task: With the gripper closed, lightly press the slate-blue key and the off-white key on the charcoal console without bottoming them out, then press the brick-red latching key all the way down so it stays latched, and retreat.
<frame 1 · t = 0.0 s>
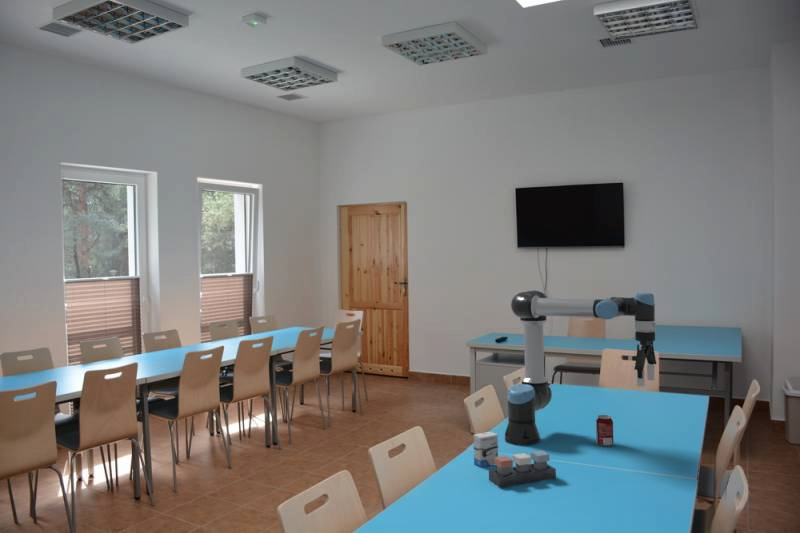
hand: (646, 383, 250), 28 cm above the table, fingers open, 13 cm apart
key slate: (540, 460, 227), point 6 cm above the table, slide at 0.0 cm
key white: (522, 463, 224), point 6 cm above the table, slide at 0.0 cm
soda can: (605, 445, 261), on the table
key brick: (503, 466, 222), point 6 cm above the table, slide at 0.0 cm
console: (522, 479, 224), on the table
ink box: (486, 464, 242), on the table
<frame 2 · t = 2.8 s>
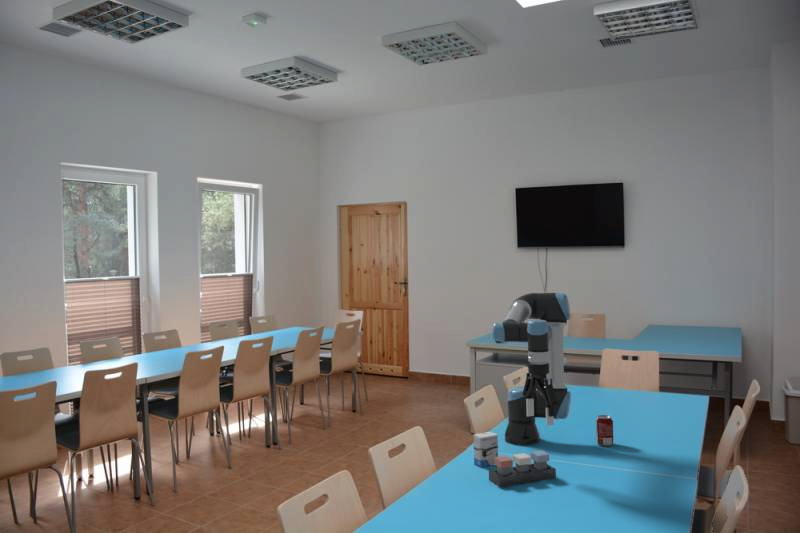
hand: (539, 420, 226), 21 cm above the table, fingers open, 13 cm apart
nothing on the table moved.
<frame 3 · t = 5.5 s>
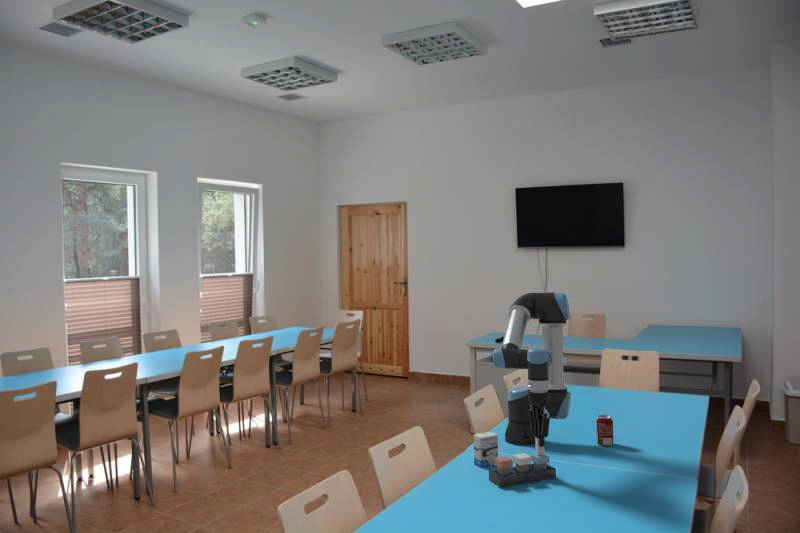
hand: (540, 454, 226), 8 cm above the table, fingers closed
key slate: (540, 462, 227), point 5 cm above the table, slide at 0.7 cm, touching gripper
everything else where it was.
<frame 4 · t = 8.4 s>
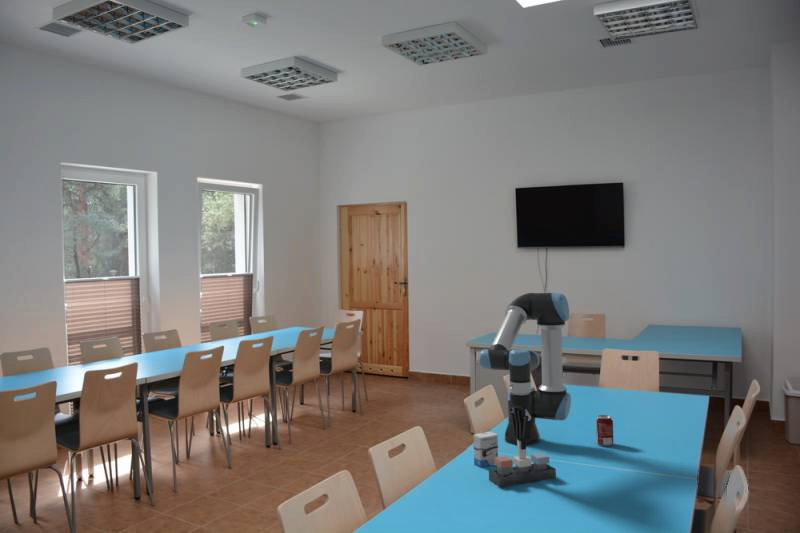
hand: (521, 457, 224), 8 cm above the table, fingers closed
key slate: (540, 462, 227), point 5 cm above the table, slide at 0.8 cm
key white: (522, 465, 224), point 5 cm above the table, slide at 0.8 cm, touching gripper
everything else where it was.
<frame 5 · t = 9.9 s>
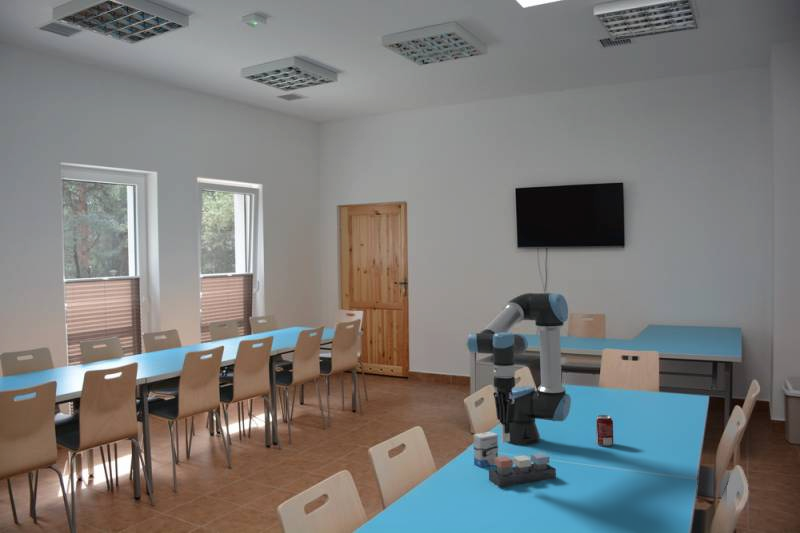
hand: (505, 441, 222), 15 cm above the table, fingers closed
key white: (522, 465, 224), point 5 cm above the table, slide at 0.8 cm
everything else where it was.
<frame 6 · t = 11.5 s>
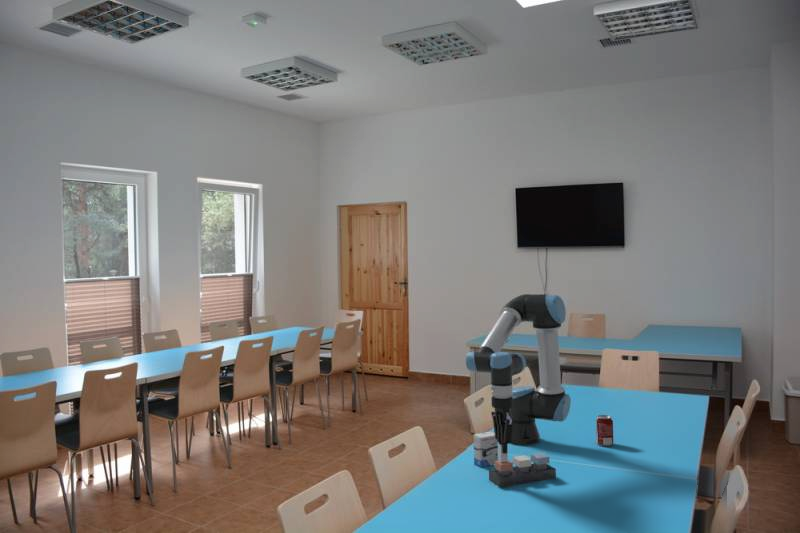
hand: (503, 461, 222), 8 cm above the table, fingers closed
key brick: (503, 469, 222), point 5 cm above the table, slide at 1.2 cm, touching gripper
everything else where it was.
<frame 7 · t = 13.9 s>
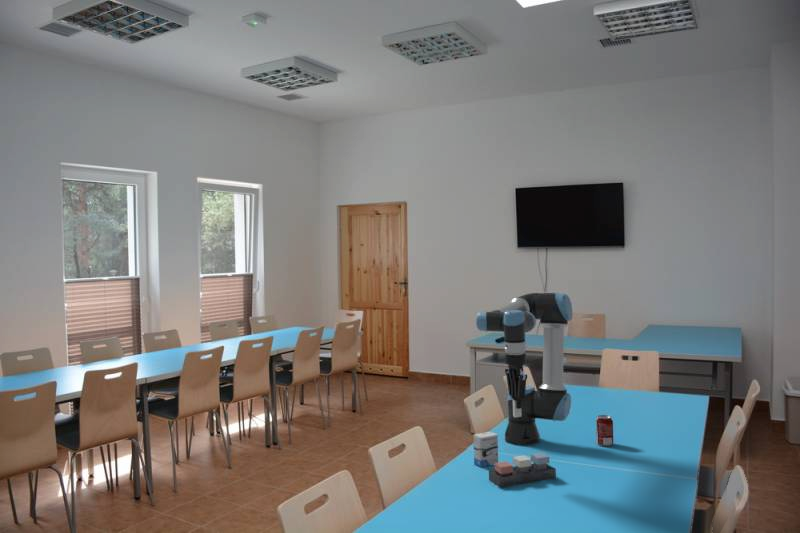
hand: (517, 416, 227), 22 cm above the table, fingers closed
key brick: (503, 471, 222), point 4 cm above the table, slide at 2.1 cm
everything else where it was.
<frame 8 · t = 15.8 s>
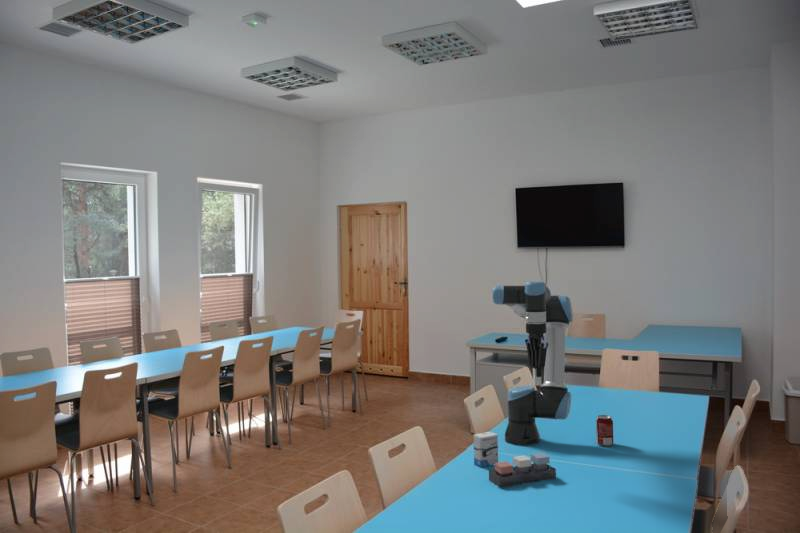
hand: (537, 384, 233), 32 cm above the table, fingers closed
nothing on the table moved.
at the end: key brick slide at 2.1 cm; key white slide at 0.8 cm; key slate slide at 0.8 cm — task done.
